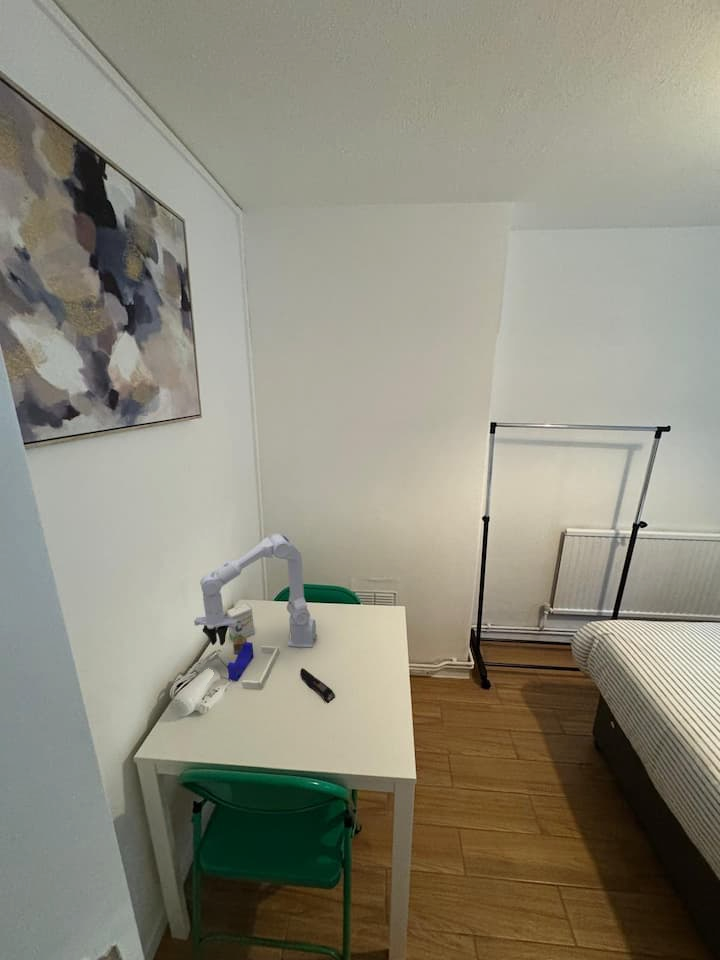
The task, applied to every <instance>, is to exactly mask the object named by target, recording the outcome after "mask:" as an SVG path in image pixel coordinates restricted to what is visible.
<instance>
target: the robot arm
mask: <svg viewBox="0 0 720 960" xmlns="http://www.w3.org/2000/svg"><path fill="white" fill-rule="evenodd" d="M263 557H264V558H269V559H274V558H273V557H275V558H277V559H281V560H287V561H286V562H287V571H288V583H289V584H288V585H289V587H288V588H289V597H288V603H287V605H286V610H287V611H288V613H289V615H290V616H289V619H288V620H289V622H288V623H289V632H290V634H289V635H290V639H289V640H288V643H287V647H295V648H296V647H297V648H313V646H314V643H315V640H316V637H317V625H316V620H315V619H314V618H311V614H310V611H309V610H308V605H307V601H306V599H305V591H304V577H303V561H302V552H301V551H300V550H299V549H298V548H297V547H296V546H295V544H294V543H293V542H291V541H290V539H289V538H288V537H287V535H284V534H282V533H279V532H274V533H272V534H270V535H269V536H267V537H265V538H264V539H263V540H262V541H260V542H259V544H257V545H256V546H255V547H253V548H252V549H250V550H249V551H248V552H246V553H245V554H244V555H242V556H241V557H239V558H238V559H237V560H234V559H233V560H229V561H228V560H227V561H225V562H223V565H221V566H220V567H218V568H217V569H215V570H212V571H211V572H210V573H206V574H204V575H203V576H202V577H201V579H200V582H199V584H200V587H201V592H202V602H203V607H204V614H205V615H204V616H201V617H196V618H195V619H194V620H193V621H194V626H199V625H203V628H202V633H203V634H205V635H206V636H207V638H208V640H209V641H210V643H211V645H212V646H214V645H215V644H216V643H217V642H218V639H219V644H220V646H224V644H225V643H226V637H227V631H228V630H229V626H232V627H234V628H235V627H236V626H237V619H232V618H229V617H227V615H225V614H224V613H225V612H224V605H223V598H222V597H223V596H222V593H221V590H222V588H223V587H224V586H226V585H228V583H230V582H231V581H232V580H235V579H236V578H237V577H239V576H240V575H241V573H242V570H243V569H244V568H246V567H248V566H250V565H251V564H253V563H255V562H257V561H258V560H260V559H261V558H263ZM217 636H218V638H217Z"/></svg>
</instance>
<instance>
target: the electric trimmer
mask: <svg viewBox="0 0 720 960" xmlns="http://www.w3.org/2000/svg"><path fill="white" fill-rule="evenodd" d="M299 675H300V677H301V678H302V680H303V681H304V682H305V684H306V685H307V686H308V687H309V688H312V689H314V690H315V691H316V692H317V693H318V694H319V695H321V697H322V698H323V701H324V702H325V703H328V704H329V703H330V702H332V701H333V700H334V699H335V698H336V695H335V693H334V691H333V690H332V689H331V688H330V687H329V686H327V685H326V684H325V683H324V682H322V681H321V680H320V679H319V678H317V677H315V676H314V675H313V674H312V673H310V672H309V671H307V670H306V669H305V668H303V667H302V668H301V669H300V674H299Z"/></svg>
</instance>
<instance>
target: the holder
mask: <svg viewBox="0 0 720 960" xmlns="http://www.w3.org/2000/svg"><path fill="white" fill-rule="evenodd" d="M260 649H261V653H262V654H272V655H271V657H270V658H269V660H268V663H267V665H266V666H265V669H264V671H263V674H262V675H261V677H260V679H259V680H250V679H249V680H246V679H243V680H242V681H241V685H242V687H241V688H242V689H249V690H250V689H251V690H262V689H263V687H264V685H265V683H266V680H267V679H268V677H269V674H270V673H271V671H272V669H273V667H274V664H275V663H276V660H277V658H278V656H279V654H280V646H274V645H261V647H260Z"/></svg>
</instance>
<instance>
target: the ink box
mask: <svg viewBox="0 0 720 960" xmlns="http://www.w3.org/2000/svg"><path fill="white" fill-rule="evenodd" d="M226 617H229V618H232V619H237V626H236V627H235V628H234V627H232V626H229V627H228V634H229V635H228V636H229V638H230V639H231V640H232V642H233V643H234V640H235V638H238V637H246V638H248V637H250V636H252V635H254V634H255V632H256V631H255V626H254V617H253V608H252V607H251V606H250V604H249V603H243V604H242V605H238V606H236V607H233V608H230V609H228V610H226Z"/></svg>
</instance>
